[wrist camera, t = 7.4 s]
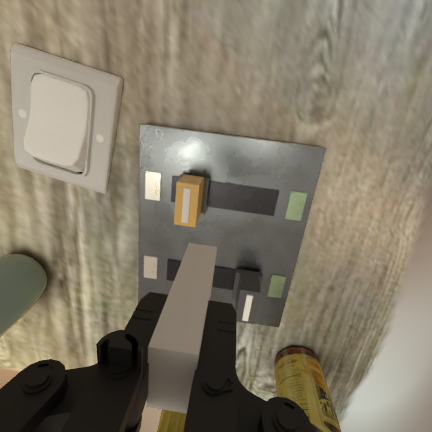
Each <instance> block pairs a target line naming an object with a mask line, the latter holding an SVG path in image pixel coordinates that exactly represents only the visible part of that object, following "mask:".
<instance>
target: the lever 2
mask: <svg viewBox="0 0 432 432" xmlns="http://www.w3.org/2000/svg"><path fill="white" fill-rule="evenodd" d="M262 279H263V273H261V272H255V271H248V270H241V269H236V272H235V278H234V284H233V290H232V299H235V300H236V303H235V311H236V313H237V320H236V321H238V322H244V323H250V324H254V321H255V317H256V312H257V307H258V303H259V298H260V294H261V291H260V288H261V284H262Z"/></svg>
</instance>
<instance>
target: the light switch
mask: <svg viewBox="0 0 432 432" xmlns="http://www.w3.org/2000/svg"><path fill="white" fill-rule="evenodd" d="M10 66H11V89H12V112H13V135H14V158H15V163H16V165H17V166H18V167H20V168H23V169H26V170H29V171H32V172H36V173H39V174H42V175H45V176H48V177H51V178H55V179H58V180H61V181H64V182H67V183H71V184H74V185H77V186H80V187H83V188H87V189H90V190H93V191H96V192H99V193H103V194H106V193H107V189H108V183H109V176H110V169H111V163H112V156H113V150H114V143H115V136H116V130H117V123H118V117H119V110H120V103H121V96H122V88H123V79H122V78H121V77H119V76H116V75H113V74H110V73H107V72H104V71H101V70H98V69H95V68H92V67H89V66H86V65H83V64H80V63H77V62H74V61H70V60H67V59H64V58H61V57H58V56H55V55H52V54H49V53H46V52H43V51H40V50H37V49H34V48H31V47H28V46H25V45H22V44H18V43H14V44H13V45H12V47H11V50H10ZM83 171H84V172H83ZM77 172H83V173H77Z"/></svg>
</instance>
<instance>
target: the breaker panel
mask: <svg viewBox="0 0 432 432" xmlns="http://www.w3.org/2000/svg"><path fill="white" fill-rule="evenodd" d="M325 151H326V148H324V147H321V146H316V145H308V144H301V143H293V142H285V141H277V140H269V139H262V138H254V137H246V136H238V135H231V134H223V133H215V132H207V131H200V130H192V129H184V128H176V127H168V126H161V125H153V124H140V179H139V286H138V303H139V301H140V300H141V299H142V298H143V297H144V296H145V295H146V294H148V293H149V292H154V293H161V294H167V295H169V292H170V290H171V287H172V285H173V282H174V280H175V277H176V275H177V272H178V269H179V267H180V264H181V262H182V259H183V257H184V254H185V252H186V249H187V247H188V244H189V243H194V244H201V245H208V246H215V247H217V253H216V260H215V268H214V275H213V283H212V290H211V296H210V300H211V301H217V302H224V303H230V304H232V305H233V307H234V309H235V303H236V300H235V299H232V290H233V284H234V278H235V272H236V269H241V270H248V271H255V272H261V273H263V279H262V284H261V288H260V291H261V294H260V298H259V303H258V307H257V312H256V317H255V321H254V323H255V324H261V325H267V326H274V327H279V325H280V321H281V317H282V313H283V310H284V306H285V302H286V298H287V295H288V291H289V287H290V283H291V279H292V276H293V272H294V268H295V264H296V260H297V257H298V253H299V249H300V245H301V241H302V238H303V234H304V230H305V226H306V223H307V219H308V215H309V211H310V207H311V204H312V200H313V196H314V192H315V188H316V185H317V181H318V177H319V173H320V169H321V166H322V162H323V158H324V154H325ZM180 174H186V175H193V176H200V177H207V178H210V183H209V193H208V202H207V211H206V214H203V213H201V215H200V217H199V220H198V222H197V225H196V227H189V226H182V225H175V224H174V215H175V199H176V183H177V181H178V180H179V175H180Z"/></svg>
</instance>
